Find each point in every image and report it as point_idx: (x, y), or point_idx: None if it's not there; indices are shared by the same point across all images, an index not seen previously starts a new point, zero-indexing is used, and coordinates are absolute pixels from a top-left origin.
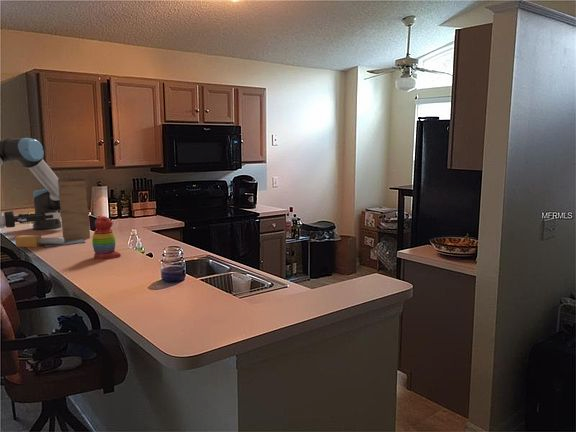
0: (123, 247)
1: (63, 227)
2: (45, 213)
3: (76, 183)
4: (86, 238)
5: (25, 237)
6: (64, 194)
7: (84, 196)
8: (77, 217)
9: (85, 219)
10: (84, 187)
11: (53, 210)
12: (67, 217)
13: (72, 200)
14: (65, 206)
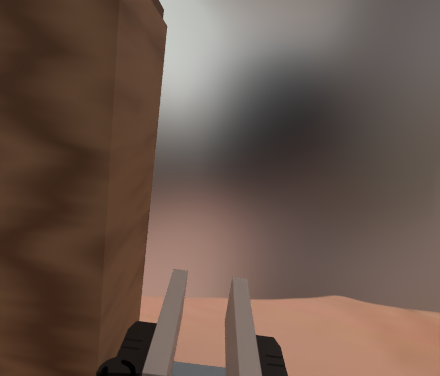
0: (392, 314)
1: (72, 368)
2: (167, 371)
3: (154, 25)
4: None
5: None
6: (124, 97)
7: (155, 122)
8: (132, 255)
9: (142, 251)
10: (161, 67)
11: None
12: (114, 281)
13: (135, 149)
14: (117, 201)
